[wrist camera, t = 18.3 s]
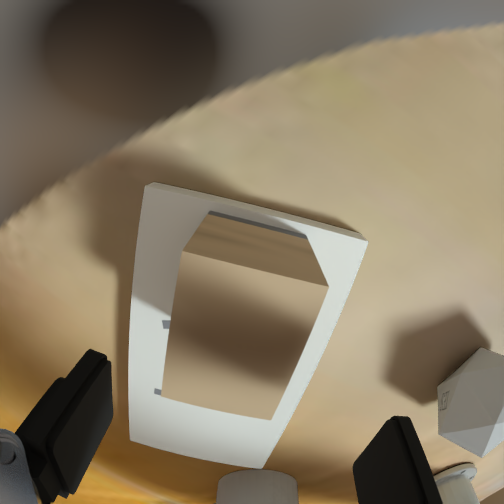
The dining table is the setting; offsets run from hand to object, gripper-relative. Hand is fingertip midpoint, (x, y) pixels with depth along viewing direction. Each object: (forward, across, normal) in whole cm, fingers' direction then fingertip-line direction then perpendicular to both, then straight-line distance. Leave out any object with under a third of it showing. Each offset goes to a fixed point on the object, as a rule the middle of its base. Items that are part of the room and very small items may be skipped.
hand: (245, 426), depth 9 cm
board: (+11, +1, +6) cm, 12 cm away
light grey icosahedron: (+12, -20, +4) cm, 23 cm away
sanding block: (+9, +1, -1) cm, 9 cm away
